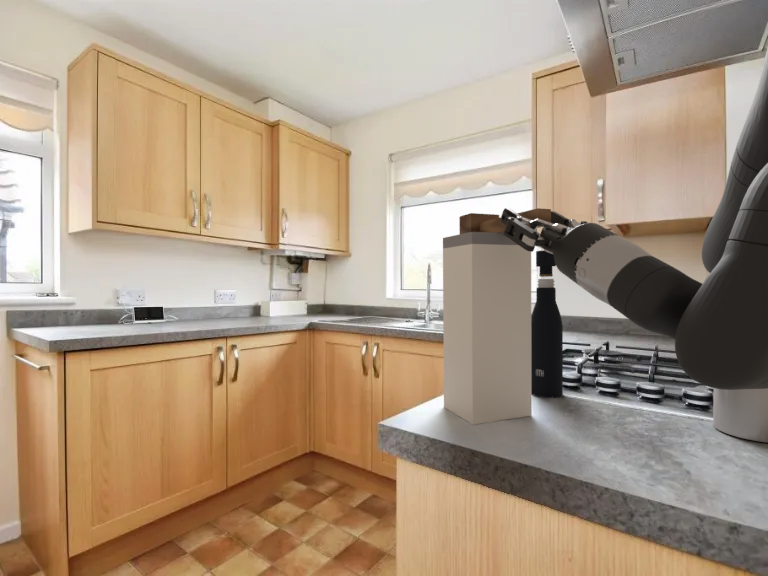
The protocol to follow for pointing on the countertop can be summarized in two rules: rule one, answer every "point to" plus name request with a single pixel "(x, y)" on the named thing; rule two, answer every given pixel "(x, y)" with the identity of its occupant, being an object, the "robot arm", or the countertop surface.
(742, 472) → the countertop surface
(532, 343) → the black bottle
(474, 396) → the stand
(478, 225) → the mallet
